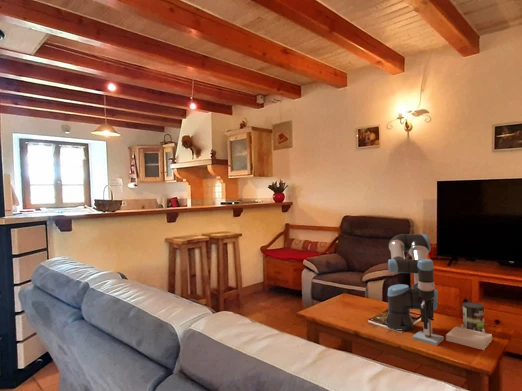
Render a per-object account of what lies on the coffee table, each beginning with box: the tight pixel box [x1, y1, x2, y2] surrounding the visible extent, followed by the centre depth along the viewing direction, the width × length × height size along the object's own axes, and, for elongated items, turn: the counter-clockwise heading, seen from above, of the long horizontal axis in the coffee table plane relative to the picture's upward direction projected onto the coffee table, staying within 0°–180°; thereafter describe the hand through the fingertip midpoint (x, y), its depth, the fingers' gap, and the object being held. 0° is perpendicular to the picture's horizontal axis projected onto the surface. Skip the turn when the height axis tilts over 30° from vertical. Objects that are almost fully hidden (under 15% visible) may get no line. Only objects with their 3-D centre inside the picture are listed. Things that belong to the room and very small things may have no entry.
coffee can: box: [462, 301, 486, 332], centre depth 193 cm, size 10×10×14 cm
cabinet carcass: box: [445, 323, 493, 351], centre depth 180 cm, size 17×15×5 cm
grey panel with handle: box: [412, 319, 444, 347], centre depth 183 cm, size 12×10×11 cm
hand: (427, 333), depth 183 cm, fingers closed on grey panel with handle, 3 cm apart
